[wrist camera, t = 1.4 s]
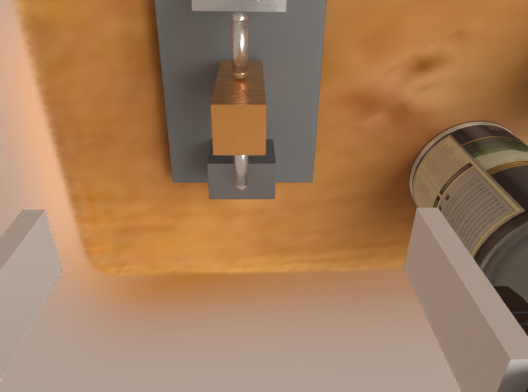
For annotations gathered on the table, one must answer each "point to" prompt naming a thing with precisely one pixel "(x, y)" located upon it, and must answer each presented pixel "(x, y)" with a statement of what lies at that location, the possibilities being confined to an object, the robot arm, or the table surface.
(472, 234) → the coffee can
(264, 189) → the block
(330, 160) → the table surface
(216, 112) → the wooden handled lever
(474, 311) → the robot arm
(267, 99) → the board
